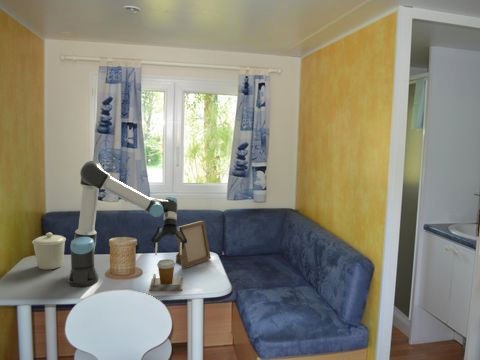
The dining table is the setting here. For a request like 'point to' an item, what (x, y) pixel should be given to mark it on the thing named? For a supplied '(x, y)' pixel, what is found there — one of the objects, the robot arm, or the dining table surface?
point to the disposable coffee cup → (166, 271)
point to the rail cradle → (174, 286)
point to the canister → (49, 251)
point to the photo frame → (193, 244)
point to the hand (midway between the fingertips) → (168, 254)
